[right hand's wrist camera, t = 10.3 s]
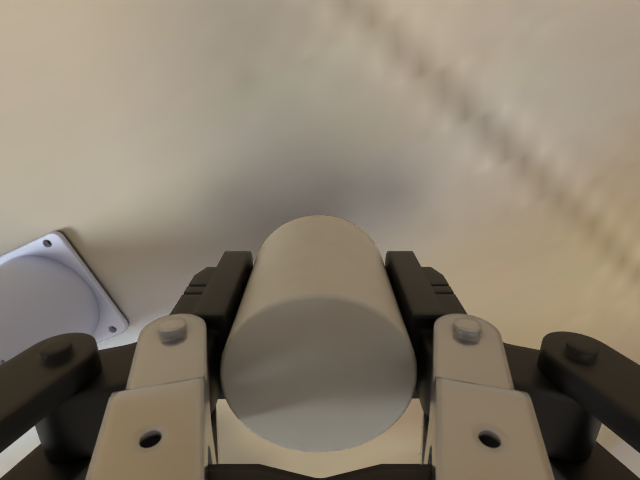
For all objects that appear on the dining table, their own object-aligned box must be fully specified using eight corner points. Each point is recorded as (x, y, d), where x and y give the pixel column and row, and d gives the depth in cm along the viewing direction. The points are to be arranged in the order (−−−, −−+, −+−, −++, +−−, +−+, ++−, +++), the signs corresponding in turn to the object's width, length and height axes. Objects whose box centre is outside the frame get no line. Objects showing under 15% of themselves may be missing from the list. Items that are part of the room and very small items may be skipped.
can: (241, 311, 13) (201, 431, 9) (272, 197, 12) (244, 269, 7) (358, 342, 13) (377, 470, 9) (402, 235, 12) (450, 326, 8)
